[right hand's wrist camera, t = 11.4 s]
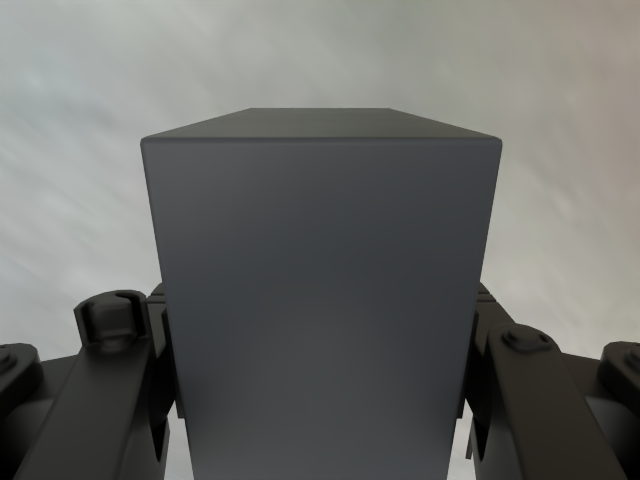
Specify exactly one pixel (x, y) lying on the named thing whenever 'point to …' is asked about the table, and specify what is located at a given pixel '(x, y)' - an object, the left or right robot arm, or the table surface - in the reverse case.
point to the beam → (320, 287)
